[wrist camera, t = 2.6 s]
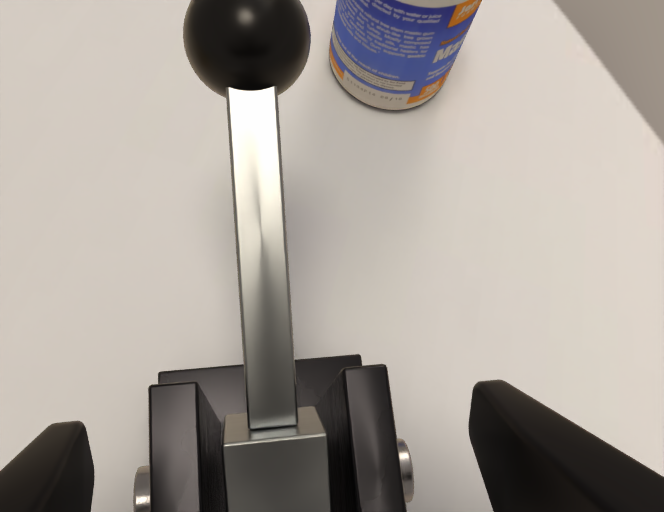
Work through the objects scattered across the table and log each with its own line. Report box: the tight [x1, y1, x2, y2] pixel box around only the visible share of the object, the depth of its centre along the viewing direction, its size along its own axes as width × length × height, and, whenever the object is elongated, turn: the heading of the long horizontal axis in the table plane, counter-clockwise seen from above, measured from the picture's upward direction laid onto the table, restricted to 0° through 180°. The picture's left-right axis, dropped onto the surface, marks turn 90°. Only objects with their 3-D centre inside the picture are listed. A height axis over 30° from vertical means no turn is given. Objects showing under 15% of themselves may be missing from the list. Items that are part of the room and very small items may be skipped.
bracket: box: [133, 354, 414, 512], centre depth 17 cm, size 8×7×10 cm
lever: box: [183, 0, 333, 512], centre depth 14 cm, size 13×3×3 cm, turn 6°
